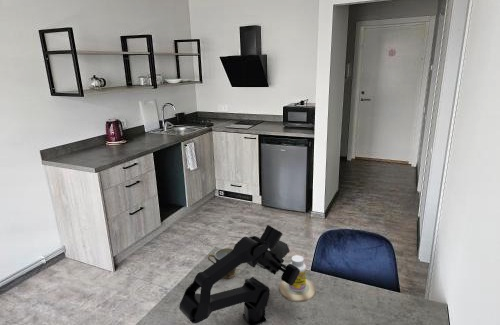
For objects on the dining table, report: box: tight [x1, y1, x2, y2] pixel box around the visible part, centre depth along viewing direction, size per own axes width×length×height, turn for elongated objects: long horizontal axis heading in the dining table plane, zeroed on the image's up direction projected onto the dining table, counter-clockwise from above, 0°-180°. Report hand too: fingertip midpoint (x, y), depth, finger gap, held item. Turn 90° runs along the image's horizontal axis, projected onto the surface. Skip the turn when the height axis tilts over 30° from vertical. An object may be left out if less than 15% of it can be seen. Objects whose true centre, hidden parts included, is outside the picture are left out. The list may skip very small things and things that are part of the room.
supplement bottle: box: [289, 254, 307, 292], centre depth 129 cm, size 7×7×13 cm
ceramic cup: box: [207, 247, 237, 280], centre depth 142 cm, size 13×10×10 cm
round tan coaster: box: [279, 278, 316, 303], centre depth 131 cm, size 14×14×1 cm
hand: (287, 273), depth 124 cm, fingers open, 9 cm apart
